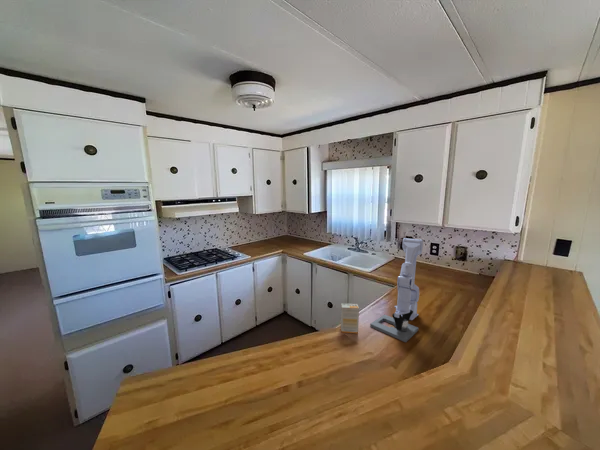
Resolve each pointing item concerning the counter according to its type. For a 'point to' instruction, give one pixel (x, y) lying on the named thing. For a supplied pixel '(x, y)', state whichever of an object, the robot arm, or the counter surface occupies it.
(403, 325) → the headed peg
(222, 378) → the counter surface
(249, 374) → the counter surface
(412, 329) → the keyhole plate
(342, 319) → the supplement box
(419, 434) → the counter surface
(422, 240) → the robot arm
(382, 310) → the counter surface
